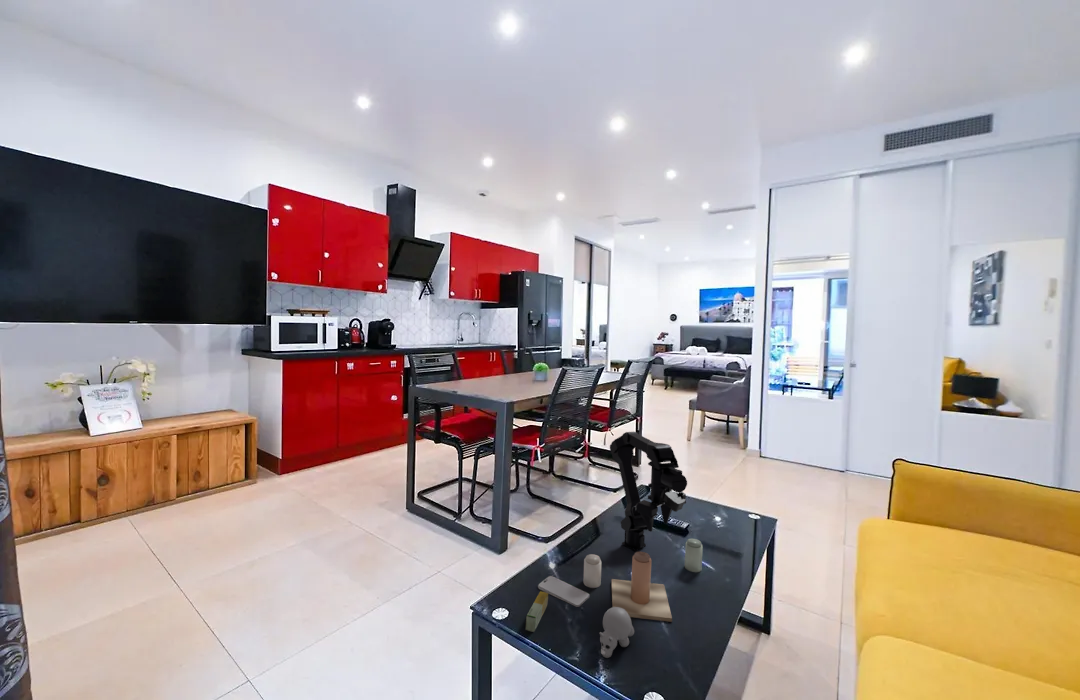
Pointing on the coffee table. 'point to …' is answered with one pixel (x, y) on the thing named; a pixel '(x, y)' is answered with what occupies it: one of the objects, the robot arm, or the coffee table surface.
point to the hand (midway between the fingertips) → (657, 527)
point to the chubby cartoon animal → (615, 630)
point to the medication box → (536, 611)
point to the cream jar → (592, 571)
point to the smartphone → (563, 591)
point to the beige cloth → (651, 610)
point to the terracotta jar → (641, 578)
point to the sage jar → (693, 555)
